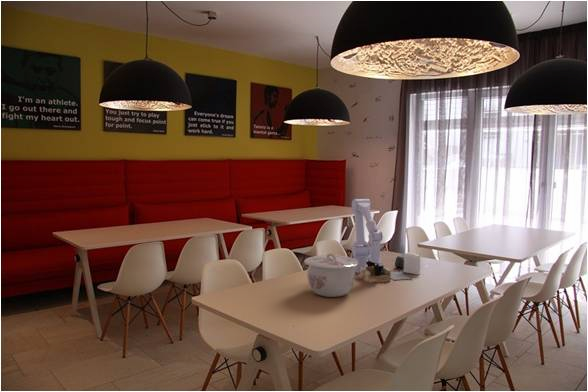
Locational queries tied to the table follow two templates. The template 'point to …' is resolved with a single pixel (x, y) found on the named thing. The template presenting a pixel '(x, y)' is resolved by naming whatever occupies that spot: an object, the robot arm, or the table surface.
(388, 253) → the table surface
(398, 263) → the rock
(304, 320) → the table surface
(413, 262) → the photo printer
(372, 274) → the brown and grey block
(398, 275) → the slate mat
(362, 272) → the wooden cubby shelf
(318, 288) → the chamber pot
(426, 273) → the table surface
